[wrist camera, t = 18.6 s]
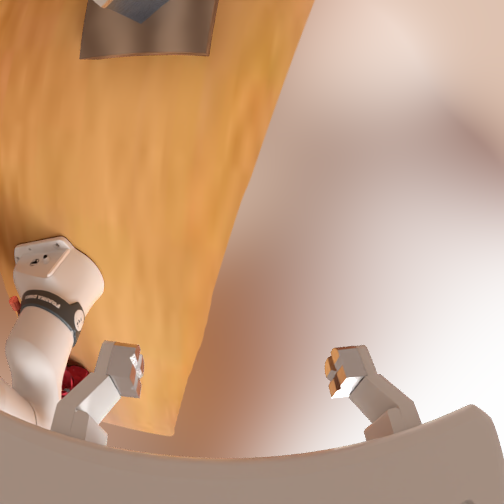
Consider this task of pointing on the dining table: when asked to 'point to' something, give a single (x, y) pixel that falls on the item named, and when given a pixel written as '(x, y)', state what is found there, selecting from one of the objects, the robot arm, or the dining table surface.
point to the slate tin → (133, 7)
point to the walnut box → (149, 31)
